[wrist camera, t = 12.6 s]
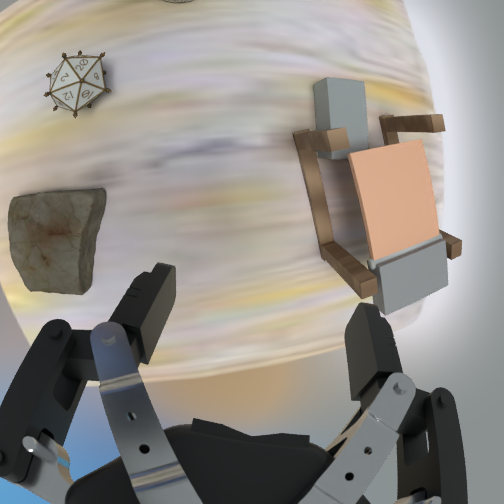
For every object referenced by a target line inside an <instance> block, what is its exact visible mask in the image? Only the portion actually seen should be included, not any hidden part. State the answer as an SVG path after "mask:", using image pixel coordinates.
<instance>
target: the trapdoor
mask: <svg viewBox="0 0 504 504" xmlns="http://www.w3.org/2000/svg"><path fill="white" fill-rule="evenodd" d="M347 156H348V160H349V163H350V167H351V171H352V175H353V179H354V182H355V186H356V190H357V195H358V199H359V203H360V207H361V212H362V216H363V221H364V226H365V231H366V236H367V241H368V246H369V252H370V258H371V259H369V260H367V263H368V269H369V271H370V272H371V273H373V274H374V275H375V276H376V277H377V288H378V293H377V294H374V295H373V303H374V304H375V305H377V306H378V309H379V310H380V311H381V312H382V313H383V314H384V315H388V314H390V313H392V312H394V311H397V310H399V309H401V308H403V307H405V306H407V305H410V304H412V303H414V302H416V301H418V300H420V299H422V298H424V297H426V296H428V295H430V294H432V293H434V292H436V291H438V290H440V289H442V288H443V287H446V286H447V285H448V271H447V253H446V241H445V240H444V239H443V238H442V235H441V233H439V226H438V219H437V211H436V205H435V199H434V193H433V187H432V182H431V177H430V172H429V168H428V163H427V159H426V155H425V151H424V147H423V143H422V139H421V140H415V141H409V142H404V143H398V144H393V145H388V146H383V147H378V148H373V149H368V150H363V151H359V152H354V153H350V154H347Z"/></svg>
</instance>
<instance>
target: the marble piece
mask: <svg viewBox="0 0 504 504" xmlns="http://www.w3.org/2000/svg"><path fill="white" fill-rule="evenodd" d="M105 202H106V193H105V191H104V189H102V188H100V189H92V190H70V191H57V192H45V193H37V194H34V195H32V194H31V195H24V196H17V197H13V199H12V200H11V203H10V207H9V212H8V231H9V241H10V252H11V258H12V260H13V263H14V265H15V267H16V269H17V270H18V272H19V273H20V276H21V278H22V280H23V282H24V284H25V286H26V287H27V288H28V289H29V290H30V291H31V292H32V291H42V292H48V293H52V292H54V293H60V294H75V295H83V294H84V293H85V292H87V291H88V289H89V288H90V287H91V280H92V269H93V264H94V254H95V250H96V248H95V246H96V245H95V242H96V237H97V233H98V231H99V229H100V224H101V220H102V217H103V214H104V210H105V204H106V203H105Z"/></svg>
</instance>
